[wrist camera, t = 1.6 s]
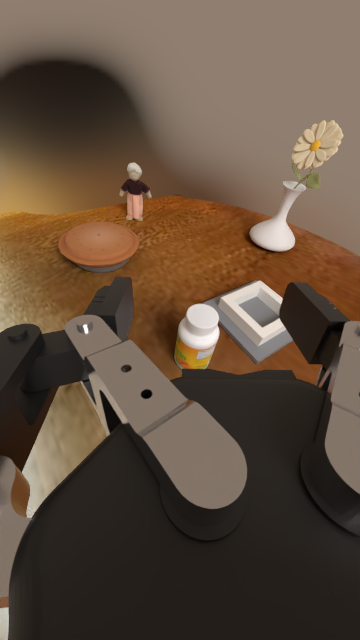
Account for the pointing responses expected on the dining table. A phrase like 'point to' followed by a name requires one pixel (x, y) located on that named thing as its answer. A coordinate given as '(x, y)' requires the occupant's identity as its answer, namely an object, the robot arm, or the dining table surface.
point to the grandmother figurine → (134, 193)
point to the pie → (99, 246)
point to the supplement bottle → (197, 337)
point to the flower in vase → (307, 154)
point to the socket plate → (252, 319)
